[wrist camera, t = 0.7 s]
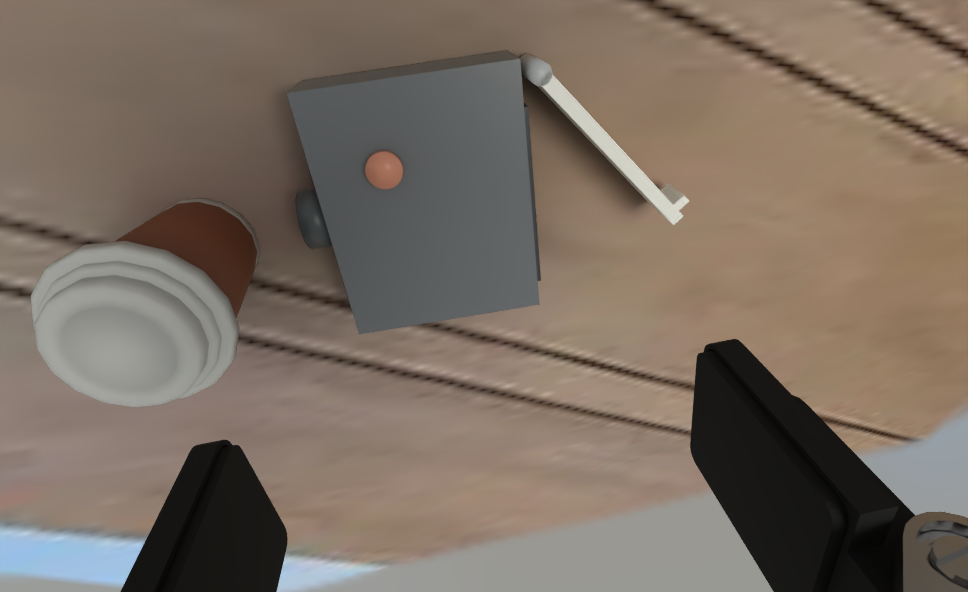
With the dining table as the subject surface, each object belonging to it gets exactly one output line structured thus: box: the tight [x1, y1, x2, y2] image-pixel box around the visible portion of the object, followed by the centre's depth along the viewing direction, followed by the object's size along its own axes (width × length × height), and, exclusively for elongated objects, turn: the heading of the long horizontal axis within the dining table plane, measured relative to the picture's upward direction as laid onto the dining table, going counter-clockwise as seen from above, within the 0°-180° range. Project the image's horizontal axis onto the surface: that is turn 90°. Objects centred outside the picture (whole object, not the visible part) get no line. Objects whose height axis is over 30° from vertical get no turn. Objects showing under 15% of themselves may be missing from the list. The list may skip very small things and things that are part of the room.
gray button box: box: [286, 50, 541, 334], centre depth 32 cm, size 14×15×5 cm
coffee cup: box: [31, 198, 260, 407], centre depth 29 cm, size 9×9×12 cm
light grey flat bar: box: [520, 54, 689, 225], centre depth 31 cm, size 2×13×4 cm, turn 47°
